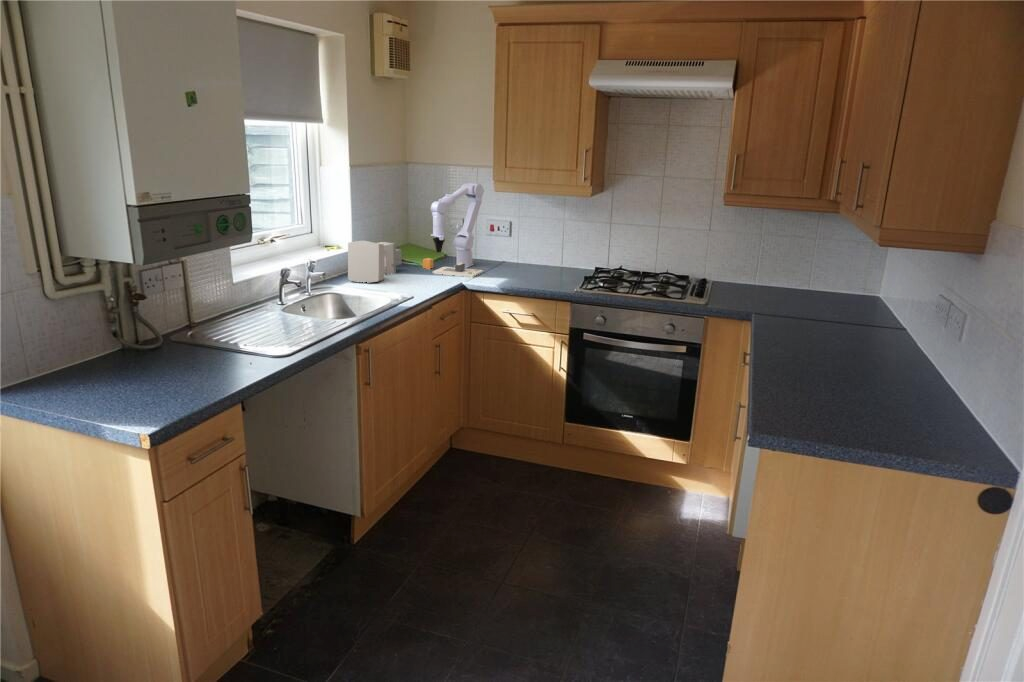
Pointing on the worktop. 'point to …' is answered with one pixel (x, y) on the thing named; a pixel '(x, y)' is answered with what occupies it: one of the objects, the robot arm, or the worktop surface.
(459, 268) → the breaker lever
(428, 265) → the cap
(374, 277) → the electrical switch box
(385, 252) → the circuit breaker
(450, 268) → the light wooden flat board
